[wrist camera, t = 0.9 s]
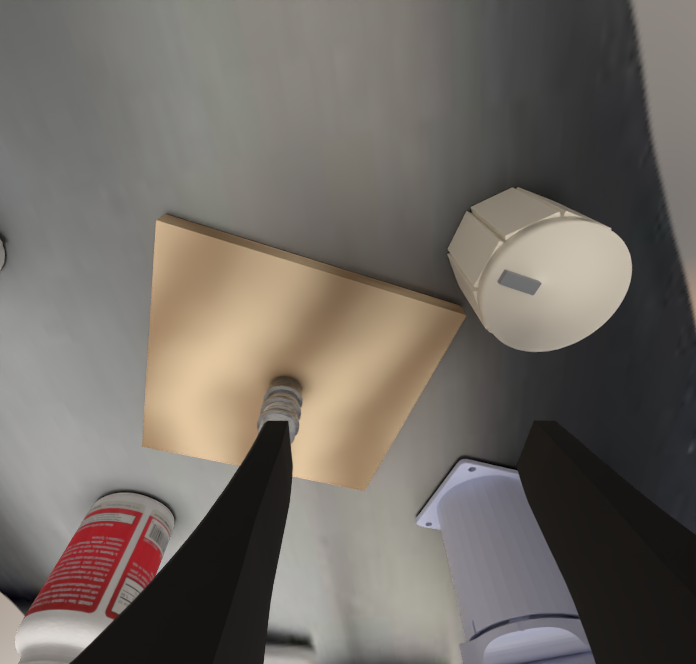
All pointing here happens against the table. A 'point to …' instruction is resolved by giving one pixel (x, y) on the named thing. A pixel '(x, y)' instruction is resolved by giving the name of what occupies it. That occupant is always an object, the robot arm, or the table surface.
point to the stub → (282, 404)
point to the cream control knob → (538, 270)
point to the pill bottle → (95, 577)
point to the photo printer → (2, 255)
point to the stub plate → (282, 352)
